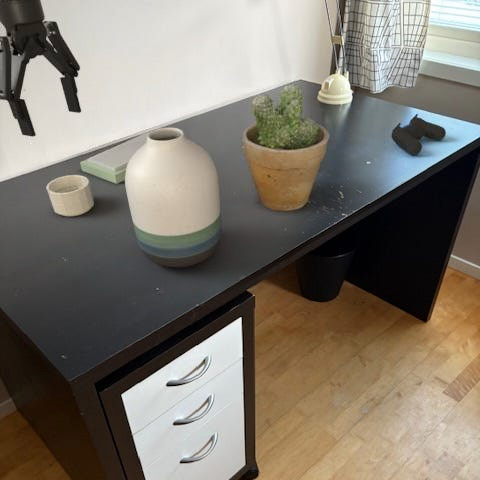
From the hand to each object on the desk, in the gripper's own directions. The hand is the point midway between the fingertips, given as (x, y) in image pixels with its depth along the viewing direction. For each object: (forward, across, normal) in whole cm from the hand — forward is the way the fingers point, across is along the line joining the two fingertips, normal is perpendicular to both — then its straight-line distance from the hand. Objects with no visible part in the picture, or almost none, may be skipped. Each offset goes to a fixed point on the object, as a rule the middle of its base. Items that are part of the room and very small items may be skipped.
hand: (53, 123), depth 95 cm
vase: (+22, -4, -29) cm, 36 cm away
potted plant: (+22, +24, -41) cm, 52 cm away
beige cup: (+21, +3, +4) cm, 22 cm away
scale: (+21, +31, +6) cm, 38 cm away
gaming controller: (+22, +67, -64) cm, 95 cm away
